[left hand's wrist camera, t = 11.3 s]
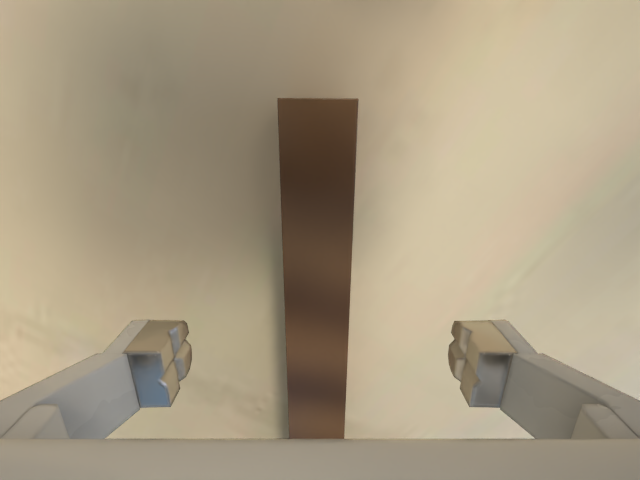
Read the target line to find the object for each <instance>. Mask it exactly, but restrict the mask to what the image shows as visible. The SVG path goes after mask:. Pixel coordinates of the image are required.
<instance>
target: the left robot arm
mask: <svg viewBox="0 0 640 480" xmlns="http://www.w3.org/2000/svg"><path fill="white" fill-rule="evenodd" d="M188 333H189V331H188V326H187V323H186V322H185V321H180V320H134V321H131V322H130V323H129V325H128V326H127V327H126V328H125V329H124V330H123V331H122V332H121V333H120V334H119V336H118V337H117V338H116V339H115V340H114V341H113V342H112V343H111V344H110V345H109V347H108V348H107V349H106V350H105V351H104V352H103V353H102V354H95V355H93V356H91V357H89V358H87V359H85V360H83V361H81V362H79V363H76V364H74V365H72V366H70V367H68V368H66V369H64V370H62V371H60V372H58V373H56V374H54V375H52V376H50V377H48V378H46V379H44V380H42V381H40V382H38V383H36V384H34V385H31V386H29V387H27V388H25V389H23V390H21V391H19V392H17V393H15V394H13V395H11V396H9V397H7V398H5V399H3V400H1V401H0V480H640V401H639V400H637V399H635V398H633V397H631V396H629V395H627V394H625V393H623V392H621V391H619V390H617V389H614V388H612V387H610V386H608V385H606V384H604V383H602V382H600V381H598V380H596V379H594V378H592V377H590V376H588V375H586V374H584V373H582V372H580V371H578V370H576V369H574V368H572V367H570V366H568V365H566V364H563V363H561V362H559V361H557V360H555V359H553V358H551V357H549V356H547V355H545V354H538V353H537V352H536V351H535V350H534V349H533V348H532V347H531V345H530V344H529V343H528V342H527V341H526V340H525V339H524V338H523V337H522V336H521V334H520V333H519V332H518V331H517V330H516V329H515V328H514V327H513V326H512V325H511V323H510V322H509V321H507V320H485V321H454V323H453V325H452V331H451V333H452V335H453V337H454V338H455V340H454V341H453V342H452V343H451V344H450V345H449V351H448V359H449V366H450V369H451V372H452V374H453V376H454V377H455V378H456V379H458V380H459V381H461V385H460V390H461V392H462V394H463V396H464V397H465V399H466V401H467V403H468V405H469V407H494V408H500V409H501V410H502V411H503V412H504V413H505V414H507V415H508V416H509V417H510V418H511V419H513V420H514V421H515V422H516V423H517V424H519V425H520V426H521V427H522V428H523V429H525V430H526V431H527V432H528V433H529V434H531V435H532V436H533V437H534V438H535V439H105V438H106V437H107V436H108V435H109V434H111V433H112V432H113V431H114V430H116V429H117V428H118V427H119V426H120V425H122V424H123V423H124V422H125V421H126V420H128V419H129V418H130V417H131V416H132V415H134V414H135V413H136V412H137V411H138V410H140V408H146V407H171V405H172V403H173V401H174V399H175V397H176V396H177V394H178V392H179V390H180V385H179V381H181V380H182V379H184V378H185V377H186V376H187V374H188V372H189V369H190V365H191V361H192V350H191V345H190V344H189V343H188V342H187V341H186V340H185V338H186V337H187V335H188Z"/></svg>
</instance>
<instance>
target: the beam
mask: <svg viewBox="0 0 640 480" xmlns="http://www.w3.org/2000/svg"><path fill="white" fill-rule="evenodd" d="M357 119H358V99H330V98H278V125H279V154H280V183H281V211H282V240H283V269H284V297H285V326H286V355H287V383H288V412H289V439H344V427H345V403H346V379H347V356H348V332H349V309H350V285H351V261H352V238H353V214H354V190H355V167H356V143H357Z"/></svg>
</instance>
